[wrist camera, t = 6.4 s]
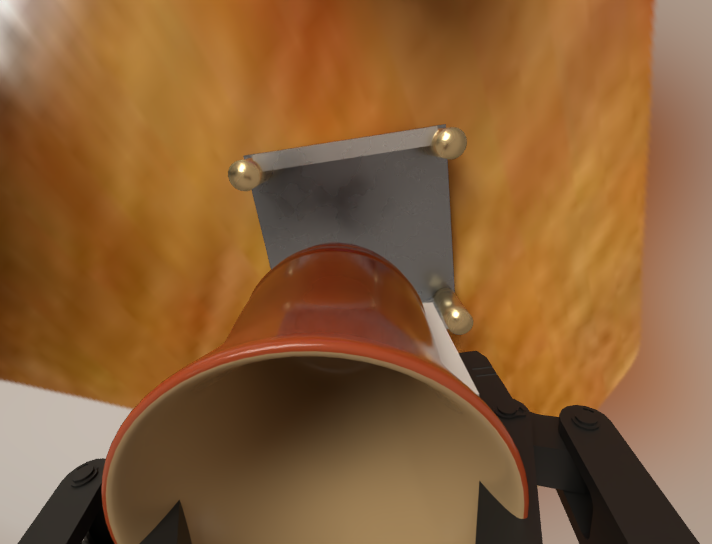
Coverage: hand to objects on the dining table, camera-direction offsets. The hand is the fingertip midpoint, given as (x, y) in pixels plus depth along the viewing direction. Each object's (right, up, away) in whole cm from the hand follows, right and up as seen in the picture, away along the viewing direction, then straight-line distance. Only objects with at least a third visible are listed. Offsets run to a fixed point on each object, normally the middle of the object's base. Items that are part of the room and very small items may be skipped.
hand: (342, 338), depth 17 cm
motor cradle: (+1, +6, +15) cm, 16 cm away
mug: (+1, 0, 0) cm, 1 cm away
